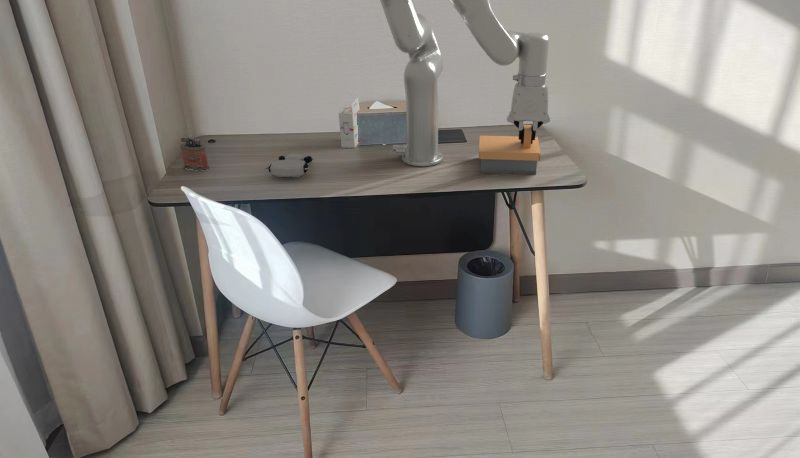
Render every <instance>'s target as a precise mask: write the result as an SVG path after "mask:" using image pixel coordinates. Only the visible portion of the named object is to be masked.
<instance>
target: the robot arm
mask: <svg viewBox="0 0 800 458" xmlns="http://www.w3.org/2000/svg"><path fill="white" fill-rule="evenodd" d="M379 1H380V5H381V7H382V9H383V12H384V15H385V19H386V21H387V23H388V27H389V29H390V33H391V36H392V38H393V41H394V44H395V46H396V48H397V49H398V50H399V51H401V52H402V53H405V54H407V55H408V57H409V61H408V62H407V64H406V66H405V68H404V71H403V82H404V92H405V111H406V112H405V113H406V144H405V143H404V144H403V145H402V144H400V145H399V144H393V145H392V151H393V152H395V154H402V156H401V159H402V161H403V163H404V164H407V165H410V166H415V167H431V166H434V165H437V164H439V163H441V162H442V161H443V158H444V154H443V153H442V152H441V151H439V93H438V81H439V78H440V76H441V74H442V72H443V69H444V60H443V56H442V53H441V50H440V47H439V45H438V41H437V38H436V34H435V32H434V29H433V27H432V24H431V23H430V21H429V20H428V18H427V17H426V16H424V15H423V14H421V13H418V12H417V9H416V6H415V3H414V0H379ZM448 1H449V3H450V5H452V7H453V8H454V9H455V10H456V11H457V13H458V14H459V15H460V17H461V18H462V20H463V21H464V23H465V26H466V27H467V28H468V30H469V31H470V33H471V35H472V36H473V38H474V39H475V42H477V44H478V45H479V46H480V48H481V49H482V50H483V51H484V52H485V54H486V55H487V56H488V58H490V60H491V61H493V63H495V64H497V65H499V66H504V67H506V66H509V65H511V64H513V63H514V62H515V61H516V60H517V58H518V59H519V60H518V71H517V74H514V75H512V81H515V84H514V88H513V91H512V92H513V93H512V98H511V106H510V112H509V113H508V115H507V118H506V121H507V122H508V123H510V124H512V125H515V127H516V128H517V129H518V136H519V140H521V144H523V141H524V122H532V125H531V130H532V134H531V144H533V140H535V137H536V135H537V134H536V133H537V130H538V129H540V128H541V126H543V125H546V124H548V123H550V122H551V119H550V116H549V86H548V84H547V83H546V77H547V68H548V67H547V66H548V56H549V45H550V38H549V36H548V35H547V34H545V33H542V32H528V33H525V32H520V31H519V32H518V31H513V30H505V29H504V27H503V25H502V24H501V23H500V22H499V20H498V18H497V17H496V15H495V14H494V11H493V9H492V6H491V2H490V0H448Z"/></svg>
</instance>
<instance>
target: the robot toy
mask: <svg viewBox="0 0 800 458" xmlns="http://www.w3.org/2000/svg"><path fill="white" fill-rule="evenodd" d="M277 159H278V160H274V161H273V162H272V163H271V164H270V165H269V166H267V167H264V170H268V172H269V173H270V174H271V175H272V176H274V177H277V178H280V177H281V178H291V177H292V178H295V177H296V179H297V177H298V178H301V176H302V177H303V175H304V174H306V173H307V172H308V170H310V166H309V165H308V164H310V163H312V162H313V160H315V156H311V155H307V156H305V157H303V155H302V154H300V153H288V154H286V156H284V155H279V156H278V157H277Z"/></svg>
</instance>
